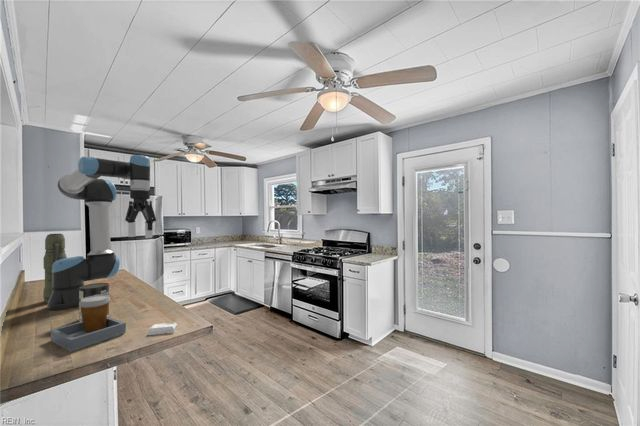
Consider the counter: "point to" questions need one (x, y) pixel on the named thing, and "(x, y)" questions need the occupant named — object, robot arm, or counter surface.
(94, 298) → the disposable coffee cup
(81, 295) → the coffee can
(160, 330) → the white light switch
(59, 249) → the thermos
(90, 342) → the square open box
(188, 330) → the counter surface
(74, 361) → the counter surface
